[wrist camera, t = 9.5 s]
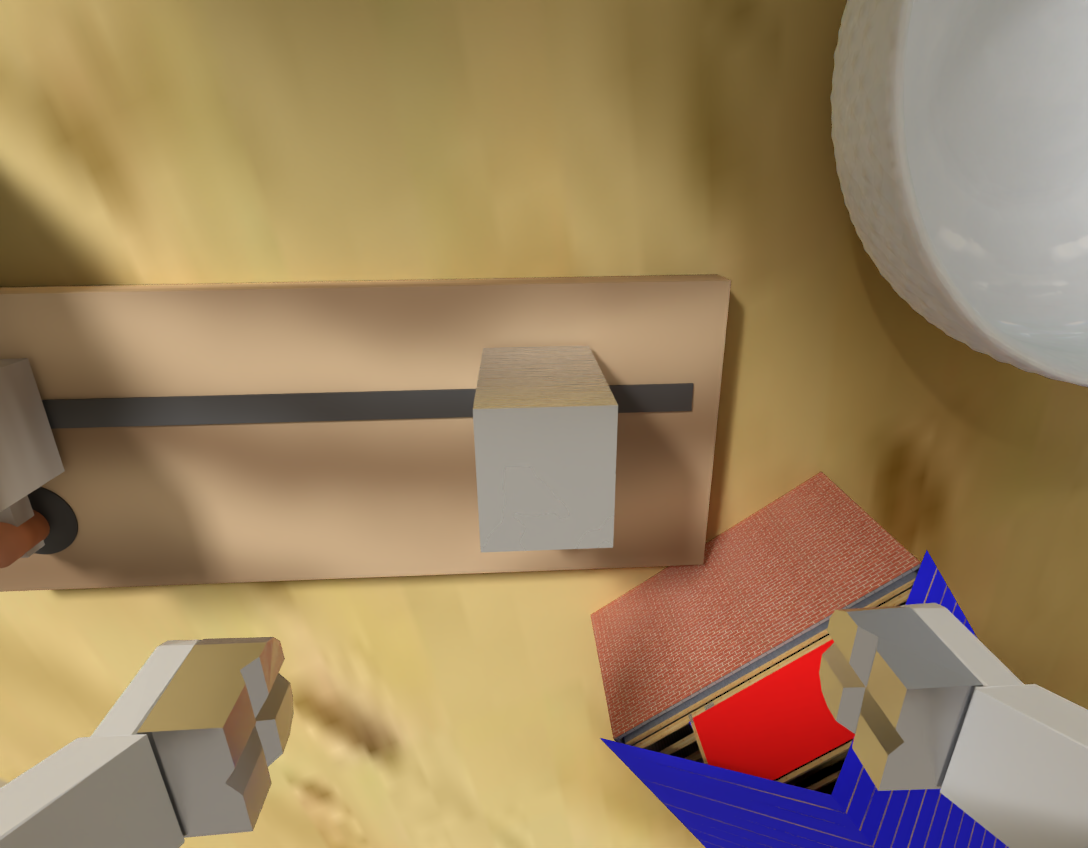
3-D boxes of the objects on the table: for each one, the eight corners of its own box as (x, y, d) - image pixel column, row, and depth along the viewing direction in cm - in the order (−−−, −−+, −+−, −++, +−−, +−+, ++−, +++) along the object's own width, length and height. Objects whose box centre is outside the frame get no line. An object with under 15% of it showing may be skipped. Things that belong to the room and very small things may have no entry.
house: (822, 458, 25) (1068, 673, 14) (997, 744, 31) (1259, 1045, 20) (579, 610, 27) (626, 900, 16) (789, 848, 33) (925, 1171, 22)
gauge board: (-84, 288, 20) (-414, 345, 13) (716, 274, 21) (821, 318, 14) (22, 568, 24) (-187, 731, 17) (692, 543, 25) (765, 686, 18)
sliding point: (483, 348, 20) (472, 409, 15) (588, 345, 20) (618, 405, 15) (491, 524, 23) (485, 635, 17) (585, 521, 23) (610, 630, 17)
